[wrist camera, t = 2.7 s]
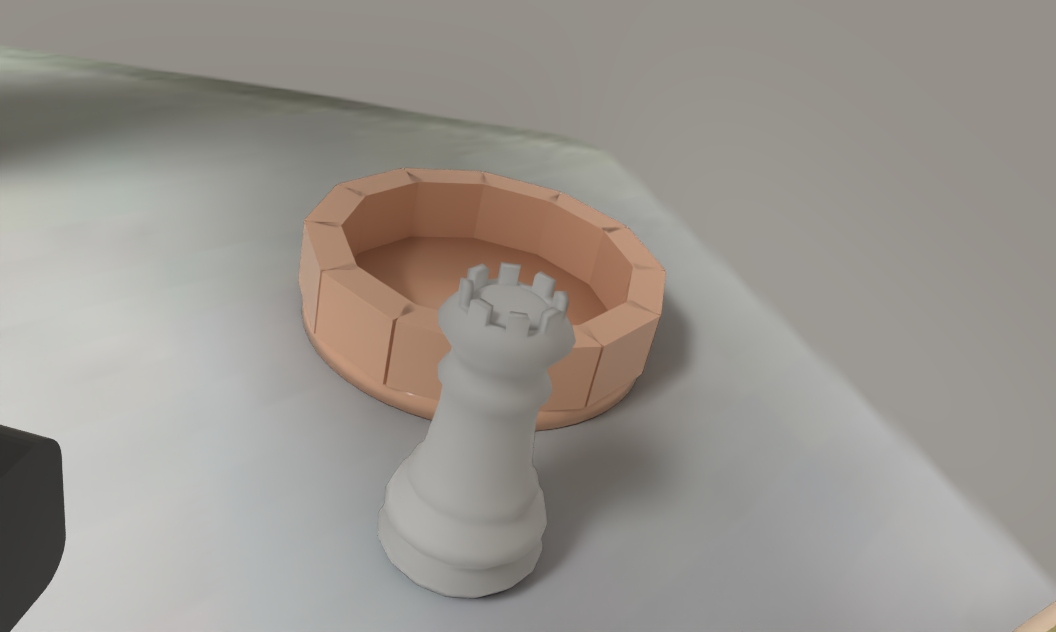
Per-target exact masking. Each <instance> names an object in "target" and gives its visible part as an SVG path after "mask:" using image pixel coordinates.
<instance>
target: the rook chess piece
mask: <svg viewBox="0 0 1056 632" xmlns="http://www.w3.org/2000/svg"><path fill="white" fill-rule="evenodd" d="M520 267H521V265H520V264H512V263H505V262H501V264H500V268H499V273H498V278H497V279H488V275H489V270H490V269H489V268H487V267H486V266H485V265H484V264H483V263H482V264H479V265H477V266H474V267H471V268H469V269H468V273H467V278H466V279H465V278H461V279H460V284H459V290H458V291H457V292H455V293H454V294H453V295H451V296H450V297H448V298H447V299H446V301H445V302H444V303H443V304H442V305H441V307H440V308H439V309H438V325H439V327H440V328H441V330H442V332H443V333H444V335H445V336H446V338H447V340H448V341H449V343H450V345H451V346H452V348H451V351H449V352H448V353H446V354H445V355H444V357H443V358H442V359H441V361H440V362H439V363H438V379H439V380H440V382H441V383H442V390H441V395H440V400H439V403H438V406H437V408H436V411H435V414H434V416H433V419H432V422H431V425H430V427H429V430H428V433H427V435H426V438H425V440H424V441H423V442H421V443H419V444H418V445H417V446H416V447H415V449H414V450H413V452H412V453H411V455H410V456H409V457H408V458H406V459H404V460H403V462H402V463H401V464H400V466H399V467H398V469H397V470H396V472H395V473H394V474H393V476H392V477H391V479H390V481H389V482H388V484H387V486H386V488H385V503H384V505H383V506H382V508H381V509H380V511H379V517H378V535H377V536H378V538H379V540H380V542H381V544H382V546H383V548H384V550H385V552H386V554H387V556H388V558H389V560H390V561H391V562H392V563H393V564H394V565H395V566H396V567H397V568H398V569H399V570H400V571H401V572H403V573H404V574H405V575H406V576H407V577H408V578H410V579H411V580H412V581H413V582H414V583H416V584H417V585H418V586H420V587H423V588H425V589H428V590H430V591H433V592H435V593H438V594H441V595H443V596H447V597H461V598H478V597H482V596H486V595H490V594H494V593H498V592H501V591H504V590H506V589H509V588H511V587H513V586H514V585H515V584H517V583H518V582H519V581H521V580H522V579H523V578H525V577H526V576H527V575H528V574H530V573H531V572H532V571H533V570H534V568H535V566H536V563H537V561H538V559H539V557H540V554H541V552H542V550H543V547H542V540H541V537H542V535H543V532H544V530H545V528H546V526H547V517H546V508H545V501H544V495H543V491H542V489H541V488H540V486H539V482H538V475H537V471H536V469H535V468H534V466H533V465H532V460H533V449H534V438H535V426H536V420H537V416H538V412H539V408H540V406H542V405H544V404H545V403H547V401H548V399H549V397H550V395H551V393H552V391H553V389H552V384H551V378H550V376H549V375H548V373H547V370H548V368H549V367H551V366H552V365H554V364H555V363H557V362H558V361H560V360H561V359H563V358H564V357H566V356H567V355H569V354H570V352H571V350H572V348H573V346H574V344H575V342H576V339H575V335H574V331H573V326H572V324H571V323H570V321H569V319H568V317H567V315H566V313H567V309H568V305H569V299H568V295H567V291H555V293H554V297H552V296H553V292H554V288H555V284H556V280H555V279H553V278H552V277H550V276H548V275H546V274H545V273H543V272H541V271H540V272H539V273H537V274H536V275H535V277H534V281H533V285H532V286H530V285H527V284H524V283H521V282H518V276H519V272H520Z"/></svg>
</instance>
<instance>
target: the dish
mask: <svg viewBox="0 0 1056 632" xmlns="http://www.w3.org/2000/svg"><path fill="white" fill-rule="evenodd" d="M626 227H627V226H625V225H623V224H621V223H620V222H618V221H616V220H614V219H612V218H610V217H608V216H606V215H604V214H603V213H601V212H599V211H597V210H595V209H593V208H591V207H589V206H587V205H586V204H584V203H582V202H580V201H578V200H576V199H574V198H572V197H570V196H569V195H567V194H565V193H561V194H560V191H556V190H552V189H549V188H545V187H541V186H537V185H533V184H529V183H526V182H522V181H518V180H514V179H510V178H506V177H503V176H499V175H495V174H491V173H487V172H483V173H482V172H481V171H465V170H441V169H418V168H404V169H402V168H400V169H396V170H392V171H388V172H384V173H380V174H376V175H372V176H368V177H364V178H360V179H356V180H352V181H348V182H344V183H340V184H338V185H336V186H335V187H334V188H333V189H332V190H331V191H330V192H329V194H328V195H327V196H326V197H325V198H324V199H323V200H322V201H321V202H320V203H319V204H318V206H317V207H316V208H315V209H314V210H313V211H312V212H311V213H310V214H309V215H308V216H307V218H306V219H305V220H304V228H303V239H302V249H301V260H300V270H299V281H298V283H299V286H300V289H301V293H302V296H303V303H302V319H303V325H304V328H305V331H306V333H307V336H308V338H309V340H310V342H311V344H312V345H313V347H314V348H315V350H316V351H317V353H318V354H319V355H320V356H321V357H322V359H323V360H324V361H325V362H326V363H327V364H328V365H329V366H330V367H331V368H332V369H333V370H334V371H335V372H337V373H338V374H339V375H340V376H341V377H343V378H344V379H345V380H346V381H348V382H349V383H351V384H352V385H354V386H355V387H357V388H358V389H360V390H361V391H363V392H365V393H366V394H368V395H370V396H372V397H374V398H376V399H378V400H380V401H382V402H384V403H386V404H388V405H390V406H393V407H395V408H398V409H400V410H402V411H405V412H407V413H410V414H413V415H417V416H420V417H423V418H426V419H429V420H432V419H433V416H434V414H435V411H436V408H437V406H438V403H439V400H440V395H441V390H442V383H441V382H440V380H439V379H438V363H439V362H440V361H441V359H442V358H443V357H444V355H445V354H446V353H448V352H449V351H451V348H452V346H451V345H450V343H449V341H448V340H447V338H446V336H445V335H444V333H443V332H442V330H441V328H440V327H439V325H438V309H439V308H440V307H441V305H442V304H443V303H444V302H445V301H446V299H447V298H448V297H450V296H451V295H453V294H454V293H455V292H457V291H458V290H459V284H460V279H461V278H465V279H466V278H467V273H468V269H469V268H471V267H474V266H477V265H479V264H482V263H483V264H484V265H485V266H486V267H487V268H489V269H490V270H489V275H488V279H497V278H498V273H499V268H500V264H501V262H505V263H512V264H520V265H521V267H520V272H519V276H518V282H521V283H524V284H527V285H530V286H532V285H533V281H534V277H535V275H536V274H537V273H539V272H540V271H541V272H543V273H545V274H546V275H548V276H550V277H552V278H553V279H555V280H556V284H555V288H554V292H553V296H552V297H554V293H555V291H567V295H568V299H569V305H568V309H567V313H566V315H567V317H568V319H569V321H570V323H571V324H572V326H573V331H574V335H575V339H576V342H575V344H574V346H573V348H572V350H571V352H570V354H569V355H567V356H566V357H564V358H563V359H561V360H560V361H558V362H557V363H555V364H554V365H552V366H551V367H549V368H548V370H547V373H548V375H549V376H550V378H551V384H552V389H553V391H552V393H551V395H550V397H549V399H548V401H547V403H545V404H544V405H542V406H540V408H539V412H538V416H537V420H536V426H535V431H538V430H546V429H555V428H560V427H564V426H569V425H573V424H577V423H580V422H582V421H585V420H588V419H591V418H594V417H596V416H598V415H600V414H601V413H603V412H605V411H607V410H609V409H610V408H612V407H613V406H614V405H616V404H617V403H618V402H620V401H621V400H622V399H623V398H624V397H625V396H626V395H627V393H628V392H629V391H630V390H631V388H632V387H633V385H634V383H635V381H636V379H637V377H638V376H640V375H641V374H642V373H643V370H644V367H645V363H646V360H647V357H648V354H649V351H650V348H651V345H652V342H653V338H654V335H655V332H656V329H657V326H658V323H659V320H660V317H661V312H662V303H663V294H664V285H665V276H666V272H665V269H664V268H663V267H662V266H661V265H660V263H659V262H658V261H657V260H656V259H655V258H654V256H653V255H652V254H651V253H650V252H649V251H648V250H647V248H646V247H645V246H644V245H643V244H642V243H641V241H640V240H639V239H638V238H637V237H636V236H635V234H634V233H633V232H632V231H631V230H630V229H629V228H626Z"/></svg>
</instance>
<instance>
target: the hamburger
mask: <svg viewBox="0 0 1056 632" xmlns="http://www.w3.org/2000/svg"><path fill="white" fill-rule="evenodd" d="M1013 632H1056V601H1055V602H1053V603H1052V604H1051V605H1049V606H1048V607H1046V608H1045V609H1043V610H1042V611H1041V612H1039V613H1038V614H1036V615H1035V616H1033V617H1032V618H1031V619H1029V620H1028V621H1026V622H1025V623H1023V624H1022V625H1020V626H1019V627H1018V628H1016V629H1015V630H1014V631H1013Z"/></svg>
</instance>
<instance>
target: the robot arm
mask: <svg viewBox="0 0 1056 632" xmlns="http://www.w3.org/2000/svg"><path fill="white" fill-rule="evenodd" d="M65 538H66V532H65V512H64V493H63V474H62V455H61V449H60V446H59V444H58V443H57V442H56V441H55V440H53V439H50V438H47V437H43V436H39V435H36V434H32V433H29V432H25V431H21V430H18V429H14V428H10V427H7V426H3V425H0V632H10V631H11V630H12V629H13V627H14V626H15V625H16V624H17V623H18V621H19V620H20V619H21V618H22V617H23V615H24V614H25V613H26V612H27V611H28V609H29V608H30V607H31V606H32V605H33V603H34V602H35V601H36V600H37V599H38V598H39V596H40V595H41V594H42V593H43V591H44V590H45V589H46V588H47V586H48V585H49V583H50V582H51V580H52V578H53V576H54V574H55V572H56V570H57V568H58V566H59V563H60V561H61V558H62V554H63V551H64V546H65Z"/></svg>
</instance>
